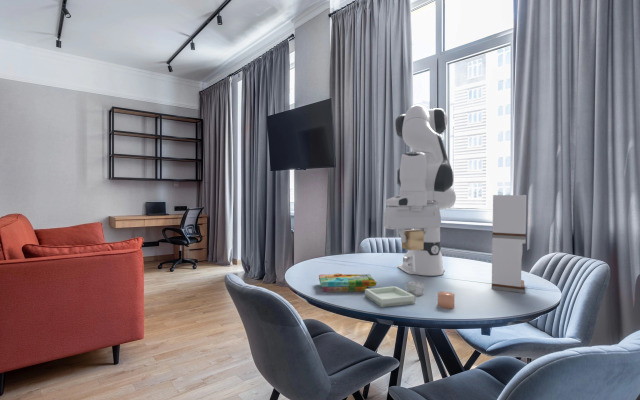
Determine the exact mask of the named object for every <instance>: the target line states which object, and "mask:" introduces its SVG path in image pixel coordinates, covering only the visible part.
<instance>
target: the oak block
mask: <svg viewBox="0 0 640 400" xmlns="http://www.w3.org/2000/svg"><path fill="white" fill-rule="evenodd" d="M404 235H405V237H408V243H402V242H401V249H404V250H408V251H409V250H423V248H424V231H419V230H414V229H405V232H404Z"/></svg>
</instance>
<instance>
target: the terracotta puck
mask: <svg viewBox="0 0 640 400" xmlns="http://www.w3.org/2000/svg"><path fill="white" fill-rule="evenodd" d="M455 298H456V295H455V293H454V292H450V291H446V290H445V291H438V292H437V306H438V308H440V309H447V310H448V309H449V310H451V309H455Z"/></svg>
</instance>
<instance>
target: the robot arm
mask: <svg viewBox="0 0 640 400" xmlns="http://www.w3.org/2000/svg"><path fill="white" fill-rule="evenodd" d="M447 125H448V116H447V113H446V112H445V110H444V109H443V108H437V107H434V108H433V109H432V108H431V109H430V108H429V109H428V108H426V107H425V106H423V105H419V104H416V105H412V106H411V107H409V108H408V109H407V111H406V112H405V113H403V114H400V115H398V116H397V117H396V118H395V121H394V131H395V133H396V136H398V137H399V138H401V139H402V140H403V142H404V143H405V145H406V146H408V147H409V148H411V151H408V152H404V153H402V155H401V158H400V166H399V169H397V176H396V177H397V178H396V179H397V181H396V185H398V186H399V187H400V188H399V194H398V195H394V196H392V197H389V198H387V199H386V200H385V206H387V207H385V209H384V214H383V226H384V228H385V229H387V230H397V232H398V234H399V236H400V242H401V244H402V243H408V237H405V235H404V232H405V230H419V231H424V248H423V250H408V251H407V252H406V253H404V255H403V256H402V263H400V264H398V265H397V268H399V269H400V270H402V271H403V272H405V273H406V274H408V275H420V276H433V277H434V276H441V275H444V272H445V271H446V269H445V268H444V264H443V254H442V252H441V249H442V242H441V225H442V218H441V217H442V216H441V211H442V210H447V209H450V208H452V207H453V206H454V205H455V203H456V200H457V195H456V192H455V190H454V189H453V188H452V187H453V184H454V182H455V181H454V179H455V178H454V177H455V175H454V171H453V168H452V165H451V163H450V161H449V158H448V155H447V151H446V147H445V144H444V142H443V138H442V137H441V135H440V134H443V133H444V132H445V130H446V129H447Z"/></svg>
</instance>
